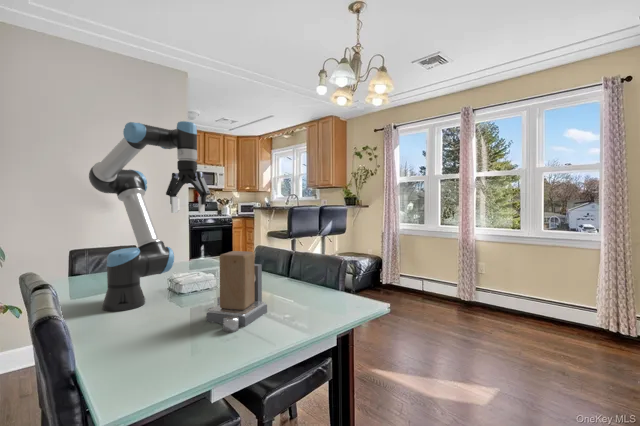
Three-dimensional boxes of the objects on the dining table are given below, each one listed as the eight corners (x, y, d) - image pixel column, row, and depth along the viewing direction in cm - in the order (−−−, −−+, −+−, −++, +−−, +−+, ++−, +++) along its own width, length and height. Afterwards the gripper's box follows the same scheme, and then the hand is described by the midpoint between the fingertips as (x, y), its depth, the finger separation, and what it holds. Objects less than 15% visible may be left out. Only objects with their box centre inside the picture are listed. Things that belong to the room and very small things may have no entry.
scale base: (206, 321, 119) (206, 271, 118) (236, 305, 137) (235, 262, 136) (245, 326, 114) (244, 274, 113) (270, 309, 132) (270, 265, 131)
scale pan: (208, 320, 119) (208, 309, 119) (232, 307, 133) (232, 298, 133) (244, 325, 114) (244, 314, 114) (265, 311, 128) (265, 302, 128)
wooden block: (244, 311, 118) (243, 255, 117) (218, 309, 120) (218, 254, 119) (255, 302, 127) (255, 251, 127) (231, 301, 130) (231, 250, 129)
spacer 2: (220, 331, 109) (220, 319, 109) (229, 326, 114) (229, 315, 114) (233, 333, 108) (233, 321, 108) (241, 328, 112) (241, 316, 112)
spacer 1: (214, 308, 134) (214, 298, 134) (222, 304, 138) (222, 295, 138) (225, 309, 132) (225, 299, 132) (232, 305, 137) (232, 296, 137)
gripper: (156, 160, 135) (156, 212, 135) (206, 158, 127) (207, 213, 127) (169, 163, 142) (170, 212, 142) (218, 160, 134) (219, 212, 134)
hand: (187, 212), depth 135 cm, fingers open, 13 cm apart
